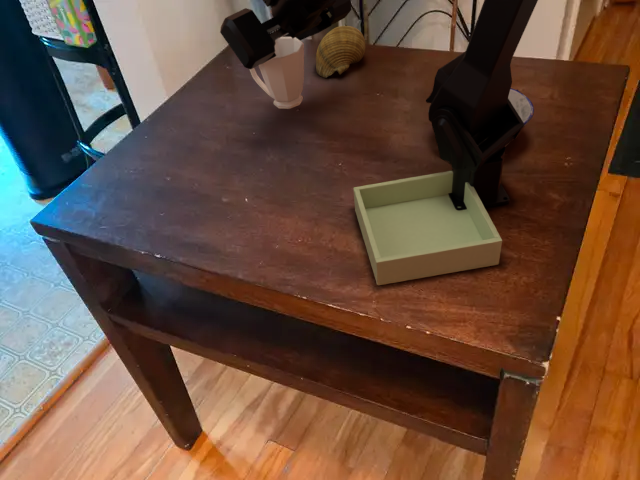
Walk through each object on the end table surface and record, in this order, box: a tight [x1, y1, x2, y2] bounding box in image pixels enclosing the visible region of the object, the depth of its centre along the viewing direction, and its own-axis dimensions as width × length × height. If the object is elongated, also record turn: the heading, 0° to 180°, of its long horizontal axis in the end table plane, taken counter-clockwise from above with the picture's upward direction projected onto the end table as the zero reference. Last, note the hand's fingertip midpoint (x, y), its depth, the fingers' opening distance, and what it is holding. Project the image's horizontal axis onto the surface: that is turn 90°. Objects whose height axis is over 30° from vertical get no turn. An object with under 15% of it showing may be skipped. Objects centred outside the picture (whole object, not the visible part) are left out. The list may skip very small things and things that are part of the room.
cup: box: [248, 37, 305, 110], centre depth 86 cm, size 7×10×8 cm
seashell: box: [315, 25, 367, 79], centre depth 97 cm, size 10×7×8 cm
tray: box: [353, 170, 503, 286], centre depth 67 cm, size 13×13×3 cm
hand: (266, 52), depth 85 cm, fingers closed on cup, 6 cm apart
